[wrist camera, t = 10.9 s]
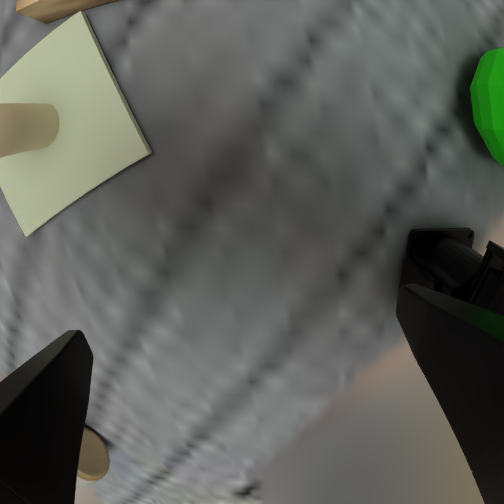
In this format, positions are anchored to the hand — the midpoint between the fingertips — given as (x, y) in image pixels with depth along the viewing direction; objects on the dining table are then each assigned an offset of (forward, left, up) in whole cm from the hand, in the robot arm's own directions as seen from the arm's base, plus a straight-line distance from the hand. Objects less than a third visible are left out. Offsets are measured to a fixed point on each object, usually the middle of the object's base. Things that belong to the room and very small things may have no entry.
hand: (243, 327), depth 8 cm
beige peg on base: (+13, -7, -12) cm, 19 cm away
